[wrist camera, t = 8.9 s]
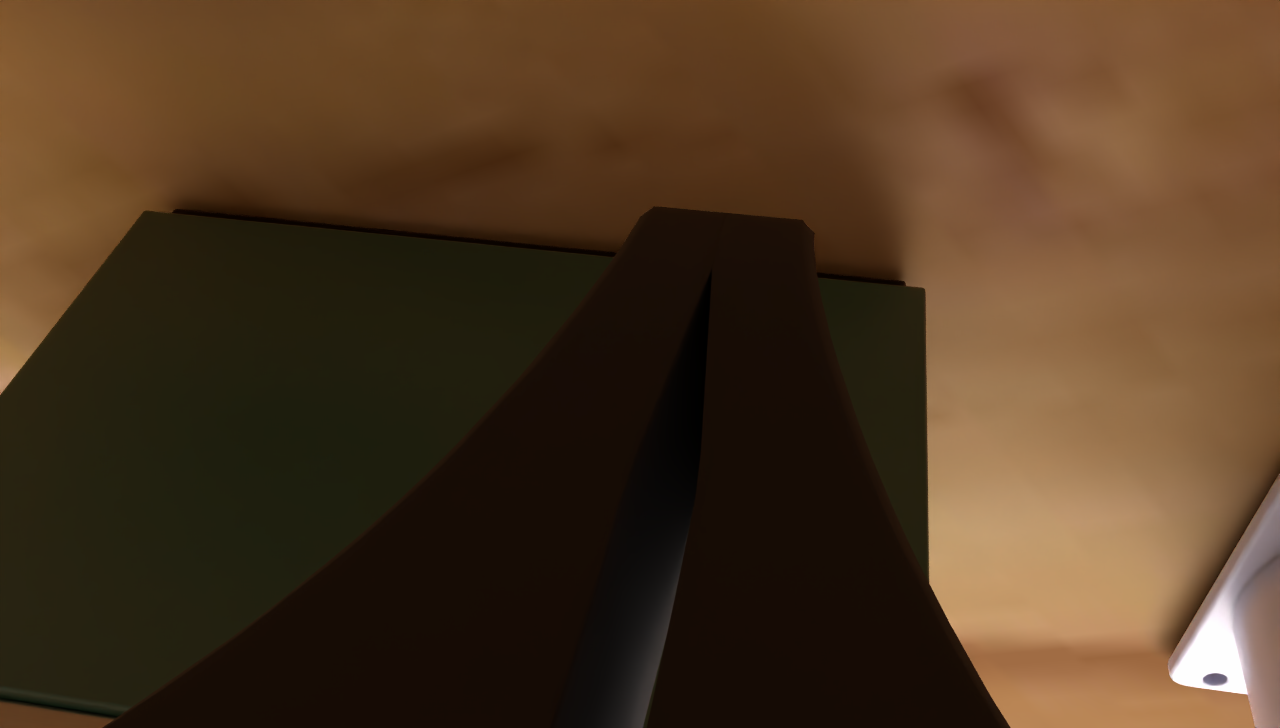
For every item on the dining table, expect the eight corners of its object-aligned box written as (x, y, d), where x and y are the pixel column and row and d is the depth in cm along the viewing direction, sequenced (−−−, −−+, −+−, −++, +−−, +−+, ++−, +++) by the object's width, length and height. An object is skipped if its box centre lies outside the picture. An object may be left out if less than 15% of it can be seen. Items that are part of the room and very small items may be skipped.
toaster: (925, 268, 21) (934, 896, 13) (862, 561, 27) (843, 1101, 19) (99, 188, 23) (-324, 688, 15) (220, 477, 29) (-34, 936, 21)
